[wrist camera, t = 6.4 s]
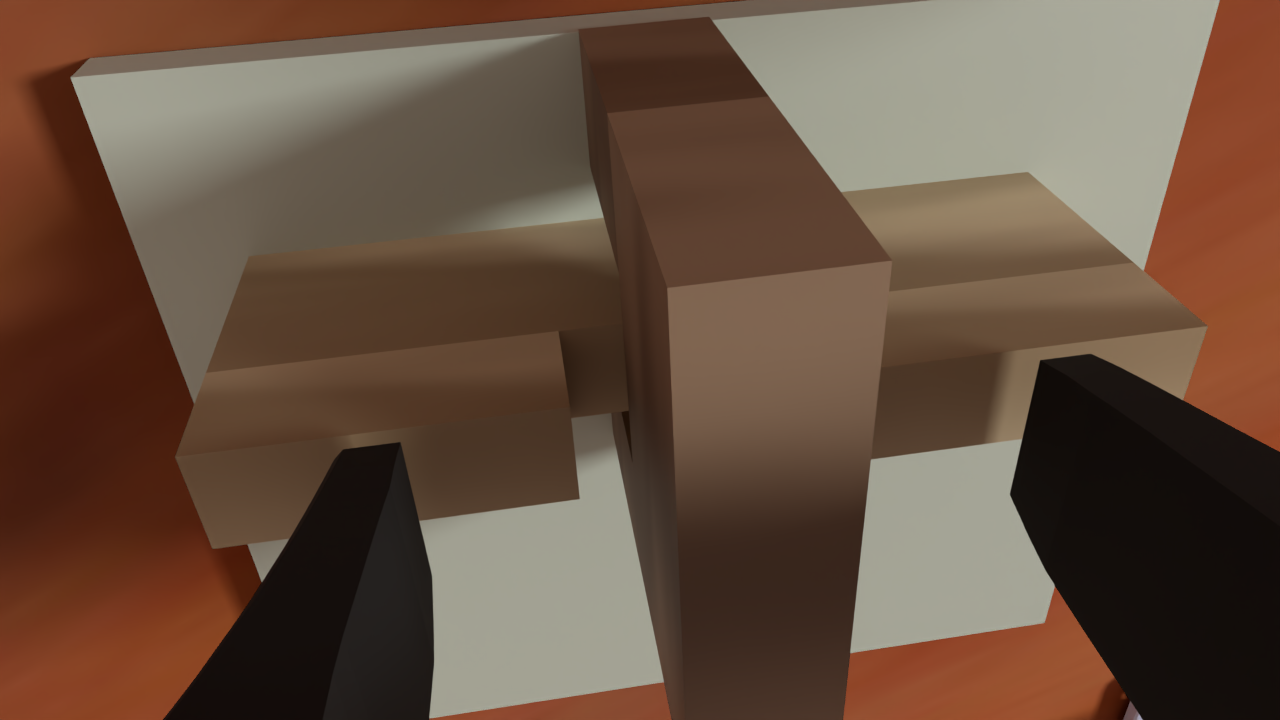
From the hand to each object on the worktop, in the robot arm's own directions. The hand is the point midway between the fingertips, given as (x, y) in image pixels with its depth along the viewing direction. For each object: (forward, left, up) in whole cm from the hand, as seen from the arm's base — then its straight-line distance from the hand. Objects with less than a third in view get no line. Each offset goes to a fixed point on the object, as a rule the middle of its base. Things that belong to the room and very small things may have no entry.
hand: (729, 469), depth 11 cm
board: (-4, 0, -6) cm, 7 cm away
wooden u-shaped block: (0, 0, -5) cm, 5 cm away
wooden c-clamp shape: (0, 0, -5) cm, 5 cm away
